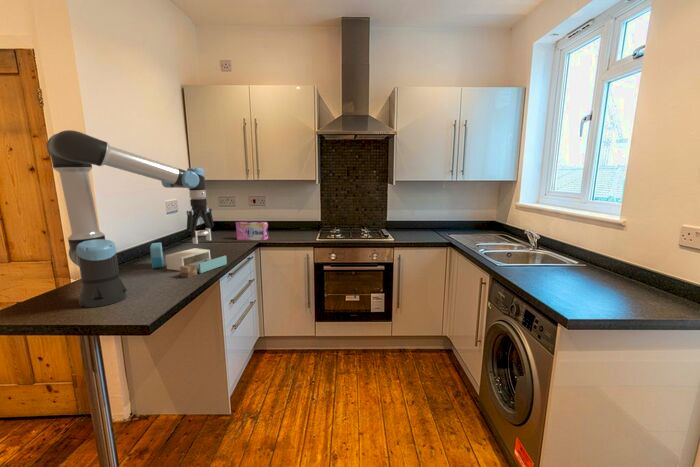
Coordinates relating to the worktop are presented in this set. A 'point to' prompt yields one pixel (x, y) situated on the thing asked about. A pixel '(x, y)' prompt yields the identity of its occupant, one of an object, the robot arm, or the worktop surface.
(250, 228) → the gum box
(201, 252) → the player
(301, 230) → the worktop surface
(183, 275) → the block
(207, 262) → the teal grey flat block
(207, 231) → the disc
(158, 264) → the data package
